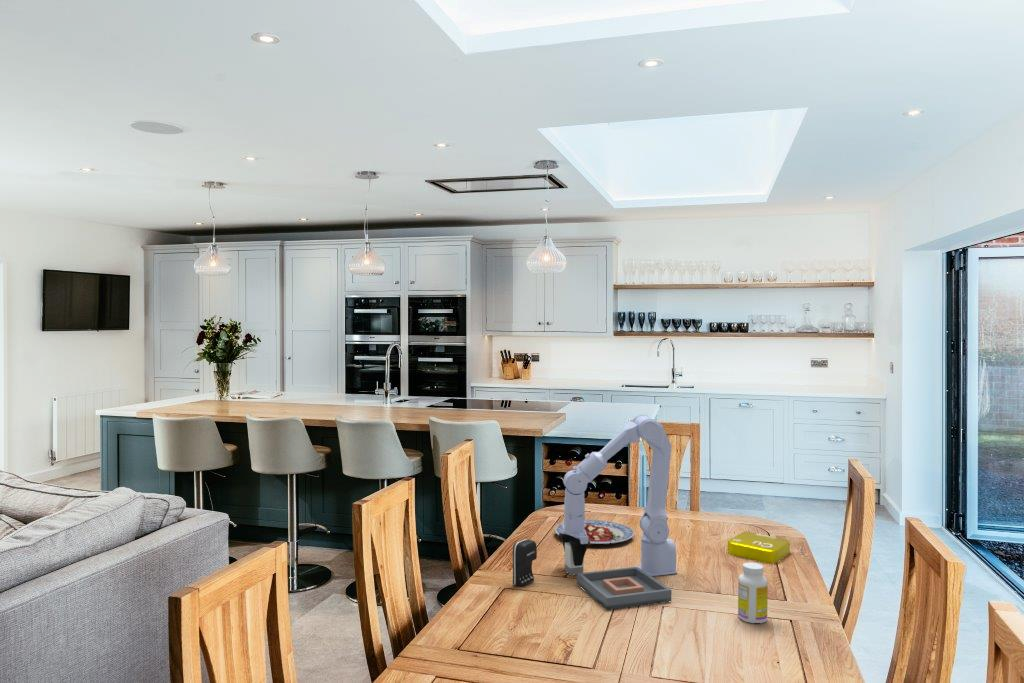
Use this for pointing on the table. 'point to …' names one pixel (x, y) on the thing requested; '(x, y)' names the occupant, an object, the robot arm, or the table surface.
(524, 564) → the battery charger
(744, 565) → the supplement bottle
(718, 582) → the table surface
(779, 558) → the element tile
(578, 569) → the grey square prism
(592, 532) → the ceramic plate
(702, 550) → the table surface
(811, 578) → the table surface
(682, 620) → the table surface
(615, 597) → the walled box
